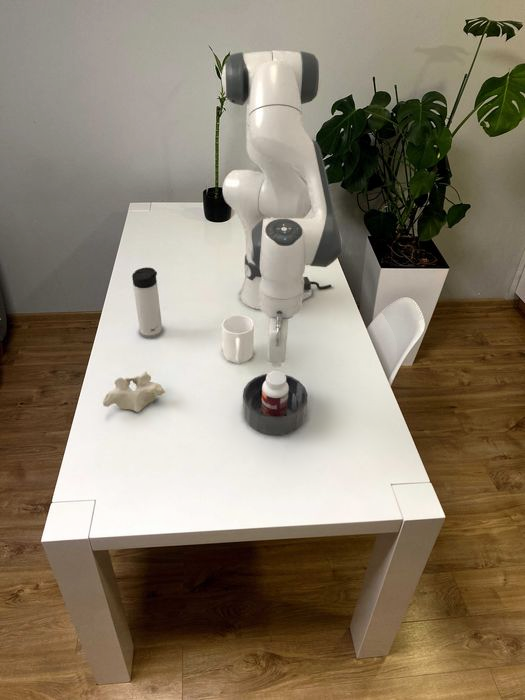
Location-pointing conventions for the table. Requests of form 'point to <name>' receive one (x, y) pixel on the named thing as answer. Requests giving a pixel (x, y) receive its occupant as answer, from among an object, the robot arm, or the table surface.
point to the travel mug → (147, 302)
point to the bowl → (274, 424)
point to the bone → (133, 393)
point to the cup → (237, 338)
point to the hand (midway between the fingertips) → (278, 350)
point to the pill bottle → (275, 394)
